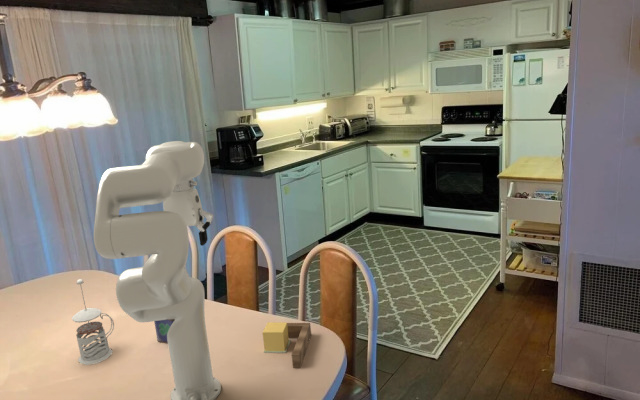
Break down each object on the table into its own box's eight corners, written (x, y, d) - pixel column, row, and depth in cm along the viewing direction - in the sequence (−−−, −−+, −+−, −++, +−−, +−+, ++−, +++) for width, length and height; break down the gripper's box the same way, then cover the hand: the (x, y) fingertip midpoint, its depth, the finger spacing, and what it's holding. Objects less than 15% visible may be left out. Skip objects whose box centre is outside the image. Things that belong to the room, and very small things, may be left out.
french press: (73, 356, 149) (57, 280, 143) (112, 341, 156) (98, 268, 151) (82, 369, 142) (65, 289, 136) (123, 353, 149) (108, 276, 143)
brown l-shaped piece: (300, 368, 133) (298, 354, 132) (256, 367, 135) (255, 354, 134) (311, 334, 150) (310, 322, 150) (272, 334, 152) (271, 322, 152)
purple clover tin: (155, 341, 154) (150, 310, 152) (162, 337, 157) (157, 306, 154) (178, 346, 150) (173, 314, 148) (184, 341, 153) (180, 310, 150)
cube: (288, 340, 148) (287, 322, 146) (284, 351, 142) (282, 332, 140) (269, 340, 149) (267, 322, 147) (264, 351, 143) (262, 332, 141)
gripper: (213, 181, 138) (221, 239, 142) (156, 184, 141) (165, 241, 145) (203, 187, 131) (211, 248, 135) (143, 190, 133) (153, 249, 137)
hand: (187, 244), depth 140 cm, fingers open, 9 cm apart
